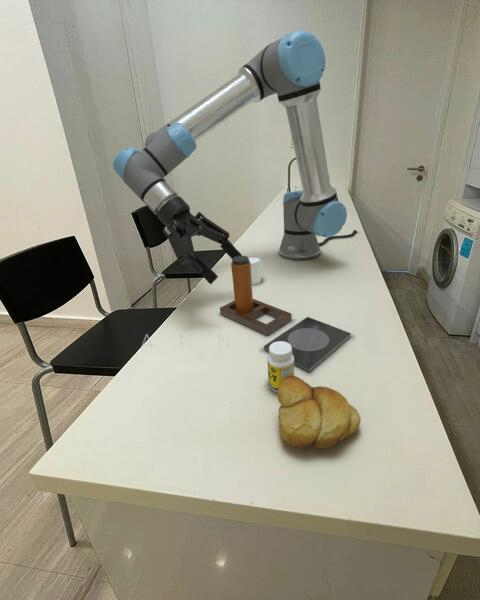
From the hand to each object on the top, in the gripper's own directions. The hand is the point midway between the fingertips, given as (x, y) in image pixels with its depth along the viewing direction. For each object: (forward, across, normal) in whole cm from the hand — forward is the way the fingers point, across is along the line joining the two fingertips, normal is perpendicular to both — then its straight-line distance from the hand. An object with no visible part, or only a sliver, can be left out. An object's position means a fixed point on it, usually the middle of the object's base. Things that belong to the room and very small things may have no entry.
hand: (228, 270), depth 82 cm
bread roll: (+30, +31, +14) cm, 45 cm away
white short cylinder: (+6, -20, -11) cm, 23 cm away
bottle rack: (+13, +1, -3) cm, 14 cm away
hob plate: (+24, +8, +8) cm, 27 cm away
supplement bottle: (+24, +22, +7) cm, 34 cm away
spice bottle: (+11, 0, -6) cm, 12 cm away
